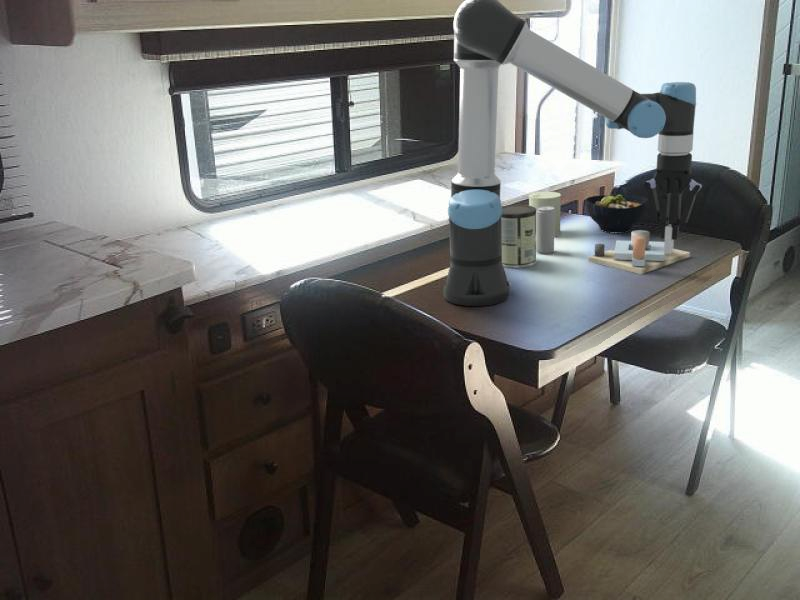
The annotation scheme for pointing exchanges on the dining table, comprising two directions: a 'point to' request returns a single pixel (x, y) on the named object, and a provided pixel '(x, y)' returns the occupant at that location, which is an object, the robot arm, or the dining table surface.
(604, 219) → the bowl
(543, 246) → the beverage can
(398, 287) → the dining table surface
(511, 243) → the coffee can
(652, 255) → the flange plate
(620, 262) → the post base
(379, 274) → the dining table surface
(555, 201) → the can
